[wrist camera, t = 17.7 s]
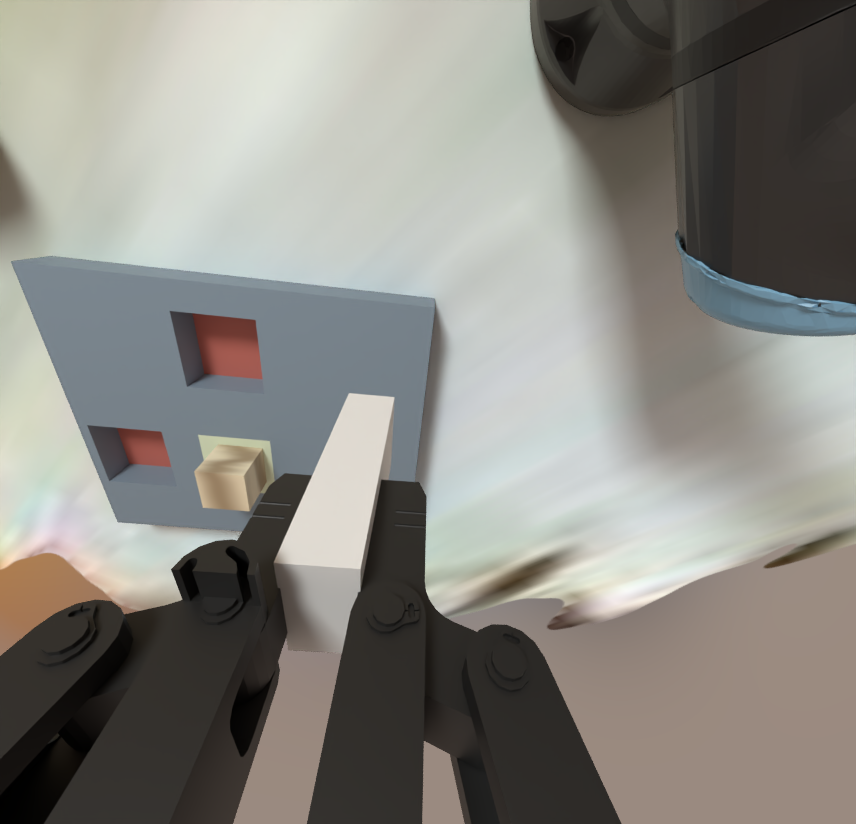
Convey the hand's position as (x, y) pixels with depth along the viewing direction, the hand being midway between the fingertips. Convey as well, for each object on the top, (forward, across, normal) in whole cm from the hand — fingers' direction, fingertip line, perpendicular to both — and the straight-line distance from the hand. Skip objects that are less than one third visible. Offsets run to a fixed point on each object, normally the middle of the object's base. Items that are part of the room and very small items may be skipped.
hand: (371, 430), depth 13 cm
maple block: (+24, +18, +22) cm, 37 cm away
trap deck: (+28, +17, +17) cm, 37 cm away
